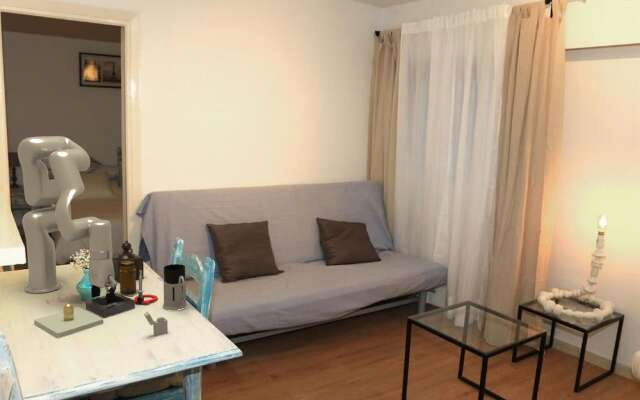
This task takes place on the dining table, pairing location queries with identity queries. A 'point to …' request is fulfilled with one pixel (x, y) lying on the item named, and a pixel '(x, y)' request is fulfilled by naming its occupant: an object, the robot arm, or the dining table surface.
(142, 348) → the dining table surface
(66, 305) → the post
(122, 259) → the manual coffee grinder
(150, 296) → the tow hook
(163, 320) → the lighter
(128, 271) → the condiment
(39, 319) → the plate
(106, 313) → the square metal frame
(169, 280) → the glass holder
